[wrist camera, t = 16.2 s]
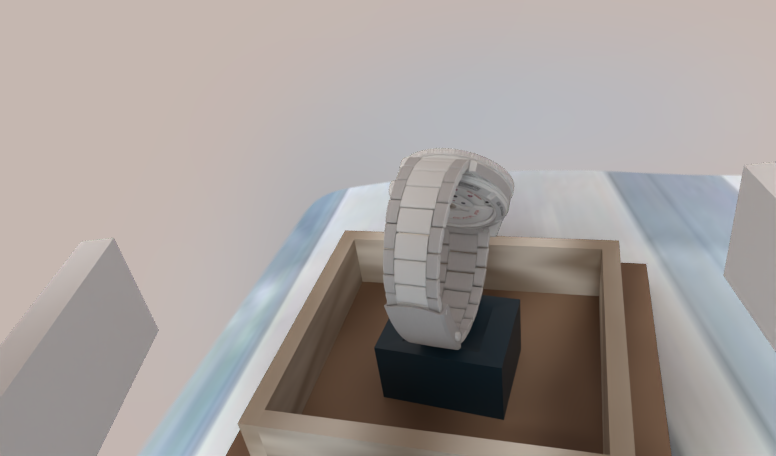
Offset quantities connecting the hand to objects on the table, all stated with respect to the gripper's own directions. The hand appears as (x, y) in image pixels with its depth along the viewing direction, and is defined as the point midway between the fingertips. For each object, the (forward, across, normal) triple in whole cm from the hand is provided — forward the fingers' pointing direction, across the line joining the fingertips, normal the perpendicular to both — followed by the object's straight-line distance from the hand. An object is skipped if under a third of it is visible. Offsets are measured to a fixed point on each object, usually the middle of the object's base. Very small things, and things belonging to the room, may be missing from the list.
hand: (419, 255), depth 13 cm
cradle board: (+10, 0, -15) cm, 18 cm away
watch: (+10, 0, -14) cm, 17 cm away
